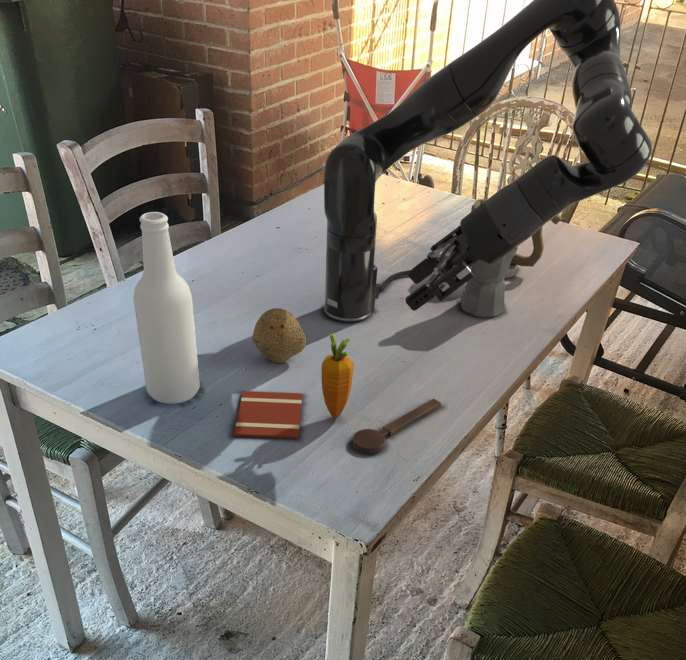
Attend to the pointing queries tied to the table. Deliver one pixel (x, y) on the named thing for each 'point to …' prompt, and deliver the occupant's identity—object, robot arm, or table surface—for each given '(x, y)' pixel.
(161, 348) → the alcohol
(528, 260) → the tankard
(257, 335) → the brown round lump
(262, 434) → the tea towel
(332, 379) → the carrot
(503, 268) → the coffeepot
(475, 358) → the table surface
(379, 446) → the wooden spoon
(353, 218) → the robot arm
